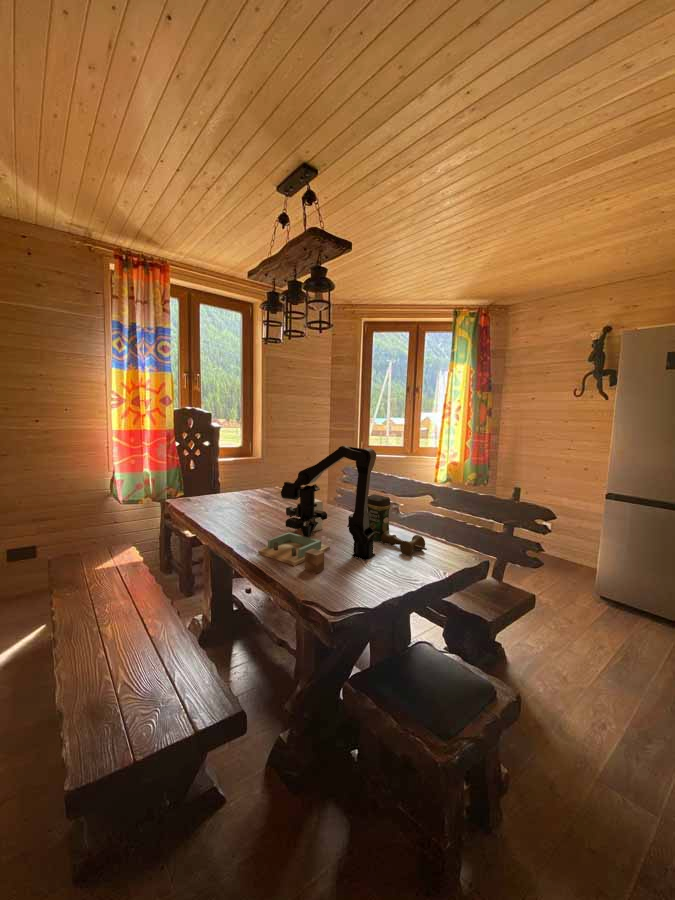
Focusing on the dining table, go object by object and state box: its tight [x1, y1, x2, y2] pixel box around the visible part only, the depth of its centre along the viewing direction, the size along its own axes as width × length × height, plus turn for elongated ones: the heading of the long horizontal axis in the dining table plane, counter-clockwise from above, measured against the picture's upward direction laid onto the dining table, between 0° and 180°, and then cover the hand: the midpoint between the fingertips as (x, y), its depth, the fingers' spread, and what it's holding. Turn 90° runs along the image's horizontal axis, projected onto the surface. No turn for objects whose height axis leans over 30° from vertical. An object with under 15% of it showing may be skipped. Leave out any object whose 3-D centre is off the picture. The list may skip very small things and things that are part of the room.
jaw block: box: [304, 549, 325, 574], centre depth 124 cm, size 5×4×6 cm
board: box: [258, 541, 331, 567], centre depth 140 cm, size 18×20×4 cm
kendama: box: [380, 532, 428, 557], centre depth 144 cm, size 6×10×20 cm
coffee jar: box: [367, 494, 391, 543], centre depth 155 cm, size 10×8×19 cm
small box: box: [313, 498, 324, 532], centre depth 168 cm, size 8×6×13 cm
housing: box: [267, 531, 322, 558], centre depth 140 cm, size 16×12×3 cm
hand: (306, 540), depth 146 cm, fingers closed
